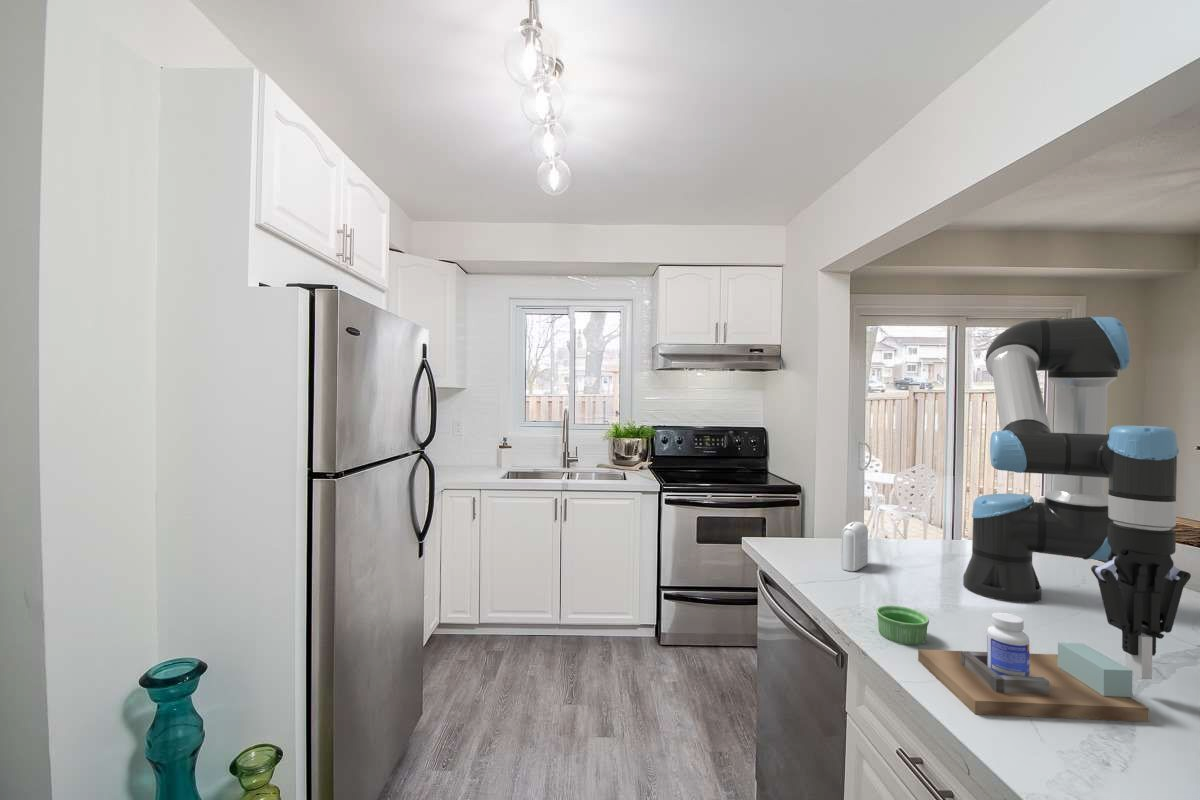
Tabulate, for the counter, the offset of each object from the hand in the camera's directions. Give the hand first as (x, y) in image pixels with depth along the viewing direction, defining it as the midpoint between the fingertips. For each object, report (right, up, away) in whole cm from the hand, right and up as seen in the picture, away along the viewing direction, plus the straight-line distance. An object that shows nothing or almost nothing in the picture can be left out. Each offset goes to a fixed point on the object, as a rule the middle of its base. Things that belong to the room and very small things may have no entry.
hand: (1138, 674), depth 84 cm
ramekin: (-25, -3, +21) cm, 33 cm away
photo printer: (-15, -3, +63) cm, 65 cm away
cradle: (-17, -3, +2) cm, 17 cm away
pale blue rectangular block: (-7, -1, 0) cm, 7 cm away
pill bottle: (-19, -2, +1) cm, 20 cm away
